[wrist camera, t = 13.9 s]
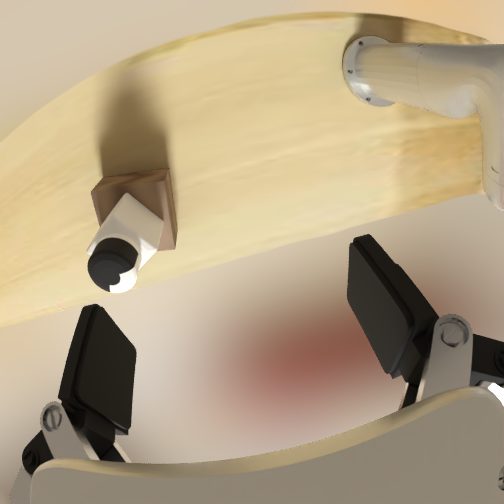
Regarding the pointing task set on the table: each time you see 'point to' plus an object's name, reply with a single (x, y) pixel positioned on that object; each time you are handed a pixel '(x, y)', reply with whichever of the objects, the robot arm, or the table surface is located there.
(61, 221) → the table surface
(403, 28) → the table surface
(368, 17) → the table surface
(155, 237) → the medicine bottle
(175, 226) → the walnut box
